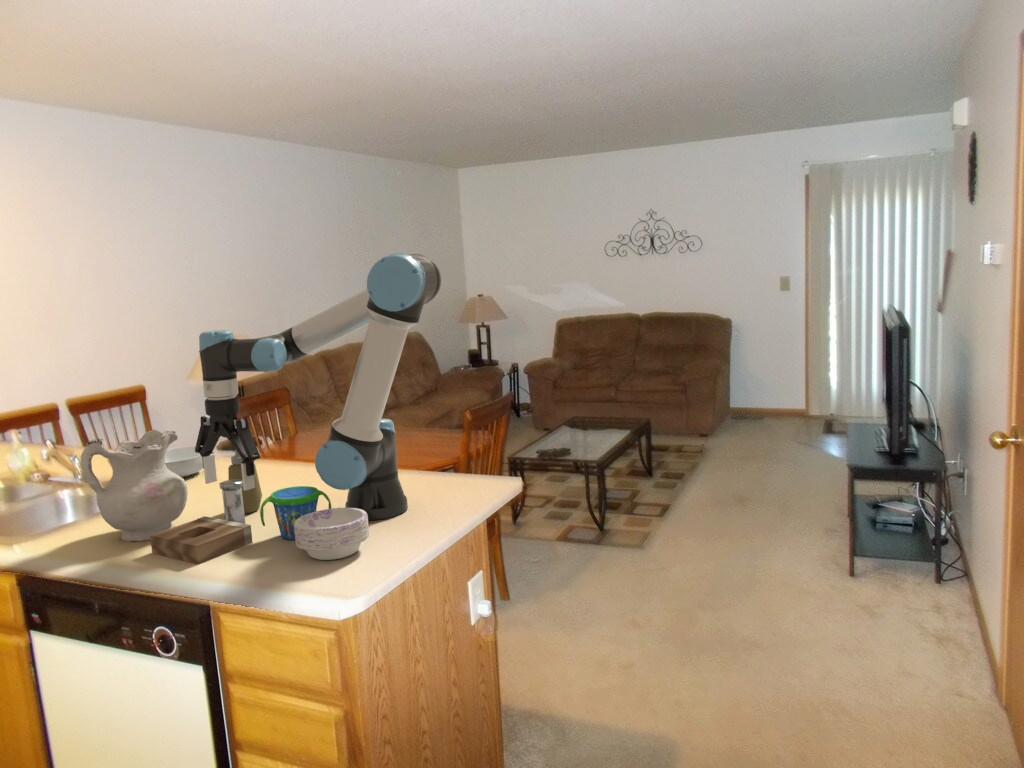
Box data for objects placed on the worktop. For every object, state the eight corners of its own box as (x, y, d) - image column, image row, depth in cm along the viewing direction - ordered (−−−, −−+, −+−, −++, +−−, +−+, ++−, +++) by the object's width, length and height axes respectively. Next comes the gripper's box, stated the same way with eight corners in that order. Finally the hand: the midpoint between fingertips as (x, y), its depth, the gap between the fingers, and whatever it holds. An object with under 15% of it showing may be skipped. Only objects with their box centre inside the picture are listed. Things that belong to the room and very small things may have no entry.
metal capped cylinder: (252, 525, 189) (247, 480, 188) (234, 531, 185) (229, 486, 183) (237, 522, 192) (232, 478, 190) (219, 528, 188) (214, 484, 186)
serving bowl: (151, 470, 251) (148, 449, 250) (219, 465, 253) (217, 444, 252) (127, 488, 231) (124, 465, 230) (201, 482, 233) (199, 459, 232)
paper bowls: (325, 537, 177) (322, 503, 176) (384, 543, 171) (381, 508, 170) (281, 562, 163) (277, 525, 162) (343, 569, 158) (340, 531, 156)
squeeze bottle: (253, 516, 196) (245, 445, 193) (224, 516, 198) (215, 446, 195) (269, 505, 204) (261, 437, 201) (241, 505, 206) (232, 438, 203)
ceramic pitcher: (125, 560, 173) (117, 450, 169) (71, 542, 182) (62, 437, 178) (206, 529, 192) (201, 429, 187) (154, 514, 201) (147, 419, 196)
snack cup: (333, 523, 187) (329, 482, 185) (333, 538, 177) (329, 494, 175) (264, 532, 184) (260, 489, 182) (261, 547, 173) (256, 502, 172)
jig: (252, 542, 177) (250, 525, 176) (198, 564, 165) (196, 545, 164) (206, 533, 185) (204, 516, 184) (152, 553, 173) (149, 535, 173)
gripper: (173, 396, 187) (182, 483, 191) (244, 403, 174) (252, 496, 177) (200, 391, 194) (209, 475, 197) (271, 397, 180) (278, 487, 184)
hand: (229, 485), depth 187 cm, fingers open, 13 cm apart
